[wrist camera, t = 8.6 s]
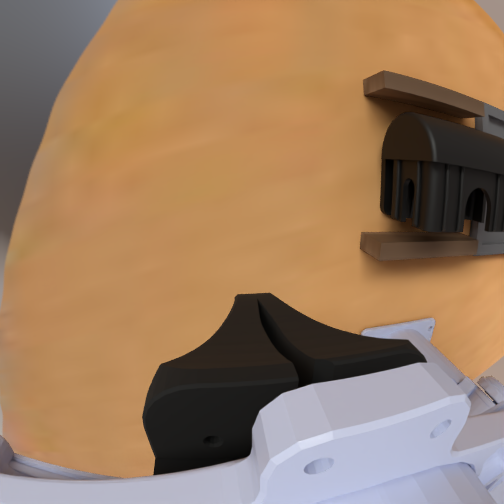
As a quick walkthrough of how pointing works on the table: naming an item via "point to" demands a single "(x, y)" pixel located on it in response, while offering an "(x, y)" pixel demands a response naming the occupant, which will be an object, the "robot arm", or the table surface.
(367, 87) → the channel walls
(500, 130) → the tray
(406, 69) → the table surface
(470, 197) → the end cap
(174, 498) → the robot arm
